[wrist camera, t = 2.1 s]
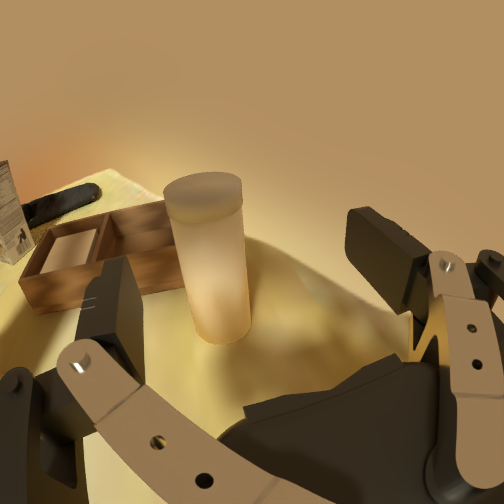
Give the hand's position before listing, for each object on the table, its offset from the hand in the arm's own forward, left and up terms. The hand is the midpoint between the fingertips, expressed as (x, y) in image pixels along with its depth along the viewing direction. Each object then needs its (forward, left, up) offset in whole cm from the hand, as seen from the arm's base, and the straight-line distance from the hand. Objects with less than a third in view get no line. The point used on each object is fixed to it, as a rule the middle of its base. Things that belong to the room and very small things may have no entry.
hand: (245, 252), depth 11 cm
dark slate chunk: (-30, +53, -16) cm, 63 cm away
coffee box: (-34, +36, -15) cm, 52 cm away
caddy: (-12, +24, -15) cm, 31 cm away
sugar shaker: (0, +11, -15) cm, 19 cm away
